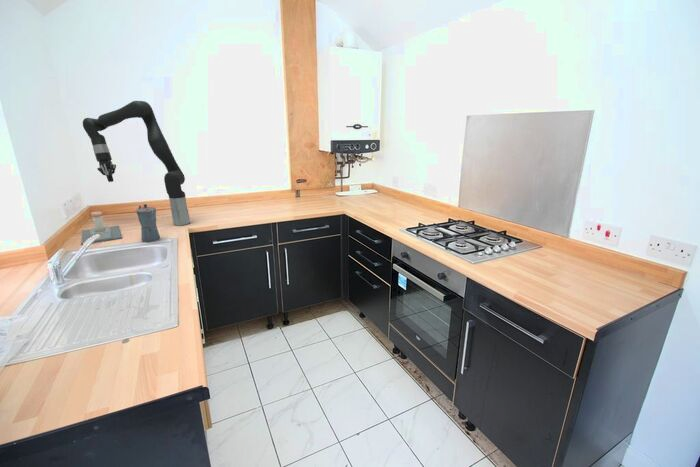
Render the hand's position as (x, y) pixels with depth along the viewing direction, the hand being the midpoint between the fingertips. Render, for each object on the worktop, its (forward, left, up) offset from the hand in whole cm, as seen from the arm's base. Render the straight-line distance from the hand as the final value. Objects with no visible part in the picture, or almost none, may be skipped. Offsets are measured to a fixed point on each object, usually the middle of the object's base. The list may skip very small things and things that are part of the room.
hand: (111, 181), depth 205 cm
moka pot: (-45, +7, -27) cm, 53 cm away
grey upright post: (-19, +19, -26) cm, 37 cm away
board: (-14, +17, -27) cm, 35 cm away
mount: (-20, +19, -26) cm, 38 cm away
